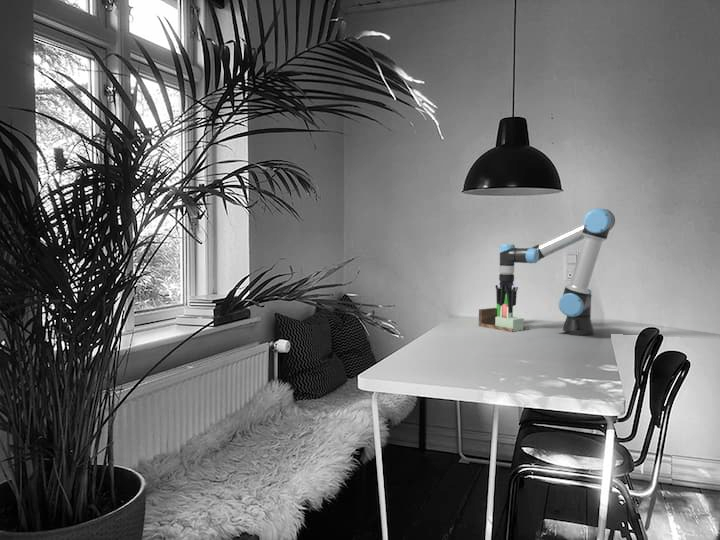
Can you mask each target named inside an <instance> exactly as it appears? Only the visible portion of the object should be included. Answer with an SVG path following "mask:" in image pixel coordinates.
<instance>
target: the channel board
mask: <svg viewBox="0 0 720 540" xmlns="http://www.w3.org/2000/svg"><path fill="white" fill-rule="evenodd" d="M495 317H497V308H496V307H490V308H489V307H488V308H482V309H479V308H478V327H482V328H488V329H493V330H498V331H503V332H508V333H515V332H518V331H513V329H511V328H505V327H500V326H495ZM521 331H529V330H528V326H524V329H523V330H520V332H521Z"/></svg>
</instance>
